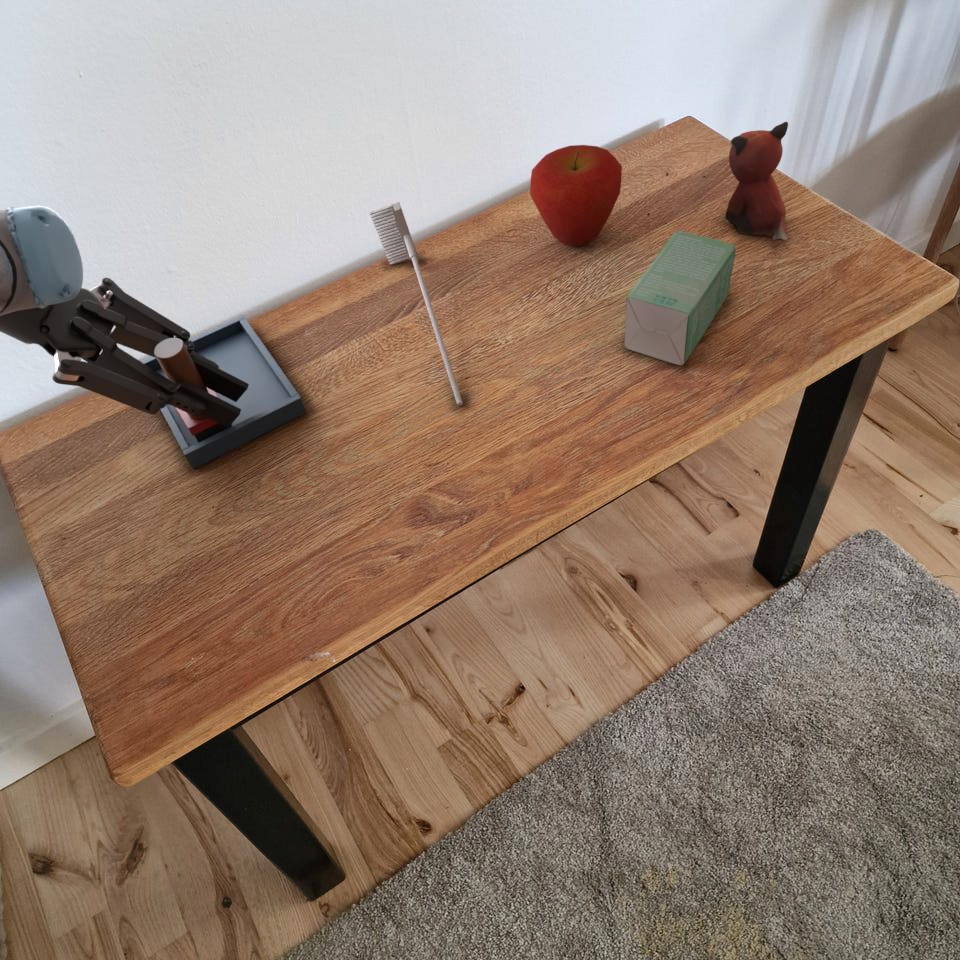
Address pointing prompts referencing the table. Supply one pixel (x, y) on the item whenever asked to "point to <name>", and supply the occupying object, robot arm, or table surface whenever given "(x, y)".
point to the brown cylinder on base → (183, 368)
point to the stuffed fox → (757, 183)
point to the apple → (576, 191)
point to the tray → (260, 403)
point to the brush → (407, 251)
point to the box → (678, 297)
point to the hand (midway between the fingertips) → (238, 405)
